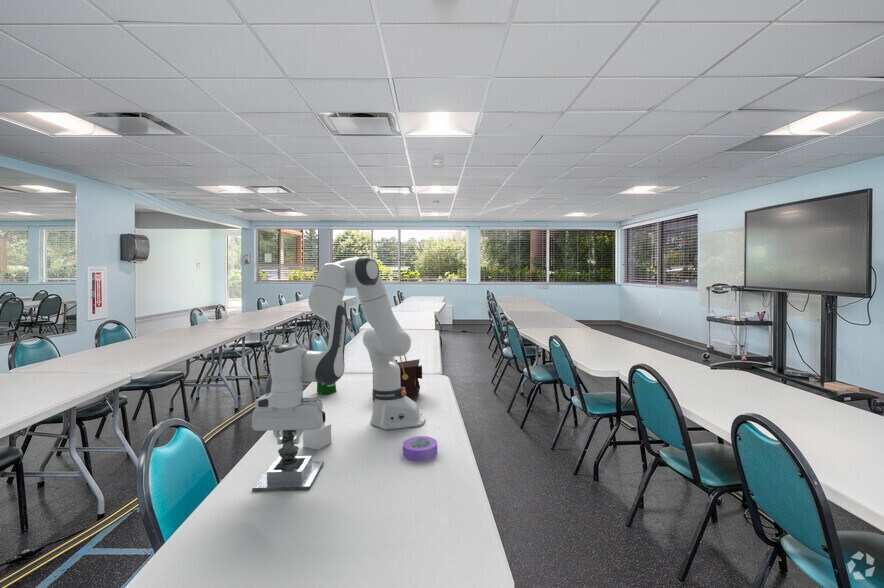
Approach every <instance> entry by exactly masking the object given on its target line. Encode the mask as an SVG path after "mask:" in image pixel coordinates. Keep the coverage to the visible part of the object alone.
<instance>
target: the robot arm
mask: <svg viewBox="0 0 884 588" xmlns="http://www.w3.org/2000/svg"><path fill="white" fill-rule="evenodd" d="M379 269H380V268H379V265H378V263H377V261H376V260H375V259H374V258H372V257H370V256H360V257H359V256H358V257H348V258H346V259H343V260H339V261H334V262H328V263H327V262H326V263H325V264H323V265H322V266H321V268H319V270H318V273H317V275H316V276H315V278H314V281H313V284H312V286H311V289H310V291H309V295H308V299H307V300H308V307H309V308H310V311H312V312H313V314H314V315H316V316H317V317H319V318H320V319H321V320H325V321H326V322H328V323H329V332H328V333H329V334H328V342H327V348H326V349H325V350H324V351H322V350H321V351H319V350H318V351H317V350H308V349H304V348H303V347H300V345H299V344H298V343H296V342H287V343H281V344H278V345H277V346H276V347H274V348H273V350H272V353H271V360H270V378H271V380H272V385H271V389H270V390H271V391H270V392H268V393H266V394H265V393H264V394H263V395H262V396H260V397H258V398H257V399H255V401H254V407H255V408H254V409H253V411H252V416H251V428H252V429H253V431H256V432H257V431H261V432H262V431H272V434H273V436H274V437H275V439H276V444H277V445H283V439H282V437H283V436H282V435H281V433H280V432H281V431H283V430H296V432H295V433H296V434H297V435H296V436H295V437H294V438H293V444H294V445H299V444H300V436H301V435H303V430H318V429H319V428H320V427H321V426H322V424H323V417H322V411H323V409H324V407H323V401H322V400H321V399H319V398H317V397H304V391H303V390H304V387H303V383H302V382H303V381H304V382H308V383H310V382H312V383H317V382H319V383H323V384H328V385H331V384H334V383H337V382H338V381H339V380H340V379H341V378H342V376H343V375H344V372H345V347H346V338H347V337H346V336H347V326H348V312H347V309H346V307H344V306H343V300H344V296H345V291H346V289H355V288H356V291H357V295H358V298H359V303H360V306H361V309H362V313H363V316H364V319H365V320H366V321H367V323H368V325H370V327H368V329H366V330H365V331H364V332H363V336H362V343H363V346H364V347H365V348H366V350H367V352H368V356H369V359H370V362H371V366H372V385H373V384H374V387H373V386H372V391H371V392H372V393H371V394H372V395H371V396H372V397H371V398H372V403H373V405H372V413H371V416H370V417H371V419H370V421H369V422H370V424H371V425H372V426H374V427H378V428H380V429H382V430H383V431H384V430H394V429H405V428H416V427H421V426H423V425H424V424H425V422H426V417H425V415H424V414H423V413H422V412H420V408H419V405H418V404H417V402H415V401H414V400H412V399H411V397H410V398H409V396H405V395H406V390H405V387H404V388H403V387H401V386H400V368H399V366H398V364H397V363H396V361H395V360H396V358H395V357H400V356H401V357H402V356H403V357H404V355H405V356H406V354H408V352H409V351H410V349H411V346H412V339H411V337H410V335H409V334H408V333H407V332H406V331H405V330H404V329H403V328H402V326H401V325H400V323H399V321H398V320H397V318H396V316H395V314H394V311H393V310H392V307H391V304H390V300H389V296H388V293H387V290H386V287H385V284H384V281H383V279H382V277H381V275H380V270H379Z"/></svg>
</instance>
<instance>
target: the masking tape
mask: <svg viewBox="0 0 884 588" xmlns="http://www.w3.org/2000/svg"><path fill="white" fill-rule="evenodd" d="M402 455H403V457H404V458H405V459H407V460H410V461H413V462H423V461H424V462H425V461H429V460H432V459H434V458H435V457H436V456H438V441H437V440H436V439H435V438H433V437H430V436H427V435H426V436H425V435H417V436H412V437H408V438H406V439H405V440H404V441H403V443H402Z"/></svg>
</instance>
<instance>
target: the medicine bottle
mask: <svg viewBox="0 0 884 588" xmlns="http://www.w3.org/2000/svg"><path fill="white" fill-rule="evenodd" d="M322 417H323V424H322V426H321V427H320V428H319V429H318V430H303V432H302V447H303V448H306V449H311V450H316V451H320V450H322V449H323V448H325V447H327V446H328V445H330V444H331V443H332V423H327V422H326V420H327V419H326V412H325V411H324V410H322Z"/></svg>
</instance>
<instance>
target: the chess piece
mask: <svg viewBox="0 0 884 588" xmlns="http://www.w3.org/2000/svg"><path fill="white" fill-rule="evenodd" d="M282 434H283V436H281V437H282V439H283V444H282V447H280V448H279V449H277V452H278V455H279V457H281V458H282V460H280V462H279V463H280V464H281V465H291V464H294V463H296V462H297V461H298V458H296V457H295V456H297V455H298V452H299V449H300V447H299V446H297V445H295V444H293V438H294V437H296V436H295V435H294V432H293V430H282Z"/></svg>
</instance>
